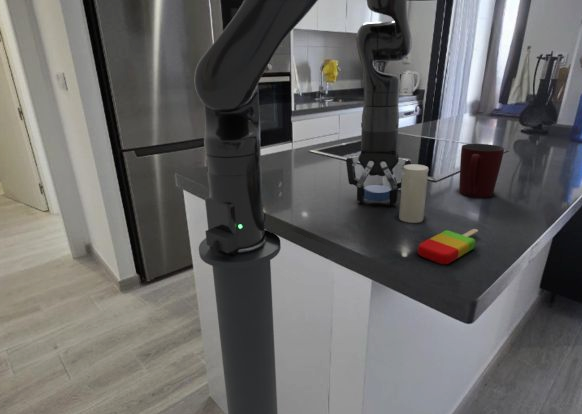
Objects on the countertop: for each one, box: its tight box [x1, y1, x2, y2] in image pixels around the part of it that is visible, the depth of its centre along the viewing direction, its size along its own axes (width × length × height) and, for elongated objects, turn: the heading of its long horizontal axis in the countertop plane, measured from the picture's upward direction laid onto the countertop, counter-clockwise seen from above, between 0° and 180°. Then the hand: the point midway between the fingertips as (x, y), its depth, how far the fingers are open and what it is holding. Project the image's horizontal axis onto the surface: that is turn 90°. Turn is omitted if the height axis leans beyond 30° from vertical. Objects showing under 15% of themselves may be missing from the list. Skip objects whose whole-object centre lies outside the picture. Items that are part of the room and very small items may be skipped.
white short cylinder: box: [382, 157, 406, 191], centre depth 95 cm, size 7×7×7 cm
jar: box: [398, 163, 430, 224], centre depth 75 cm, size 5×5×11 cm
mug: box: [458, 143, 505, 199], centre depth 88 cm, size 12×9×11 cm
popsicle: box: [417, 228, 479, 265], centre depth 64 cm, size 6×15×2 cm, turn 131°
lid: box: [363, 184, 391, 202], centre depth 84 cm, size 6×6×2 cm
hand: (376, 203), depth 85 cm, fingers closed on lid, 6 cm apart
